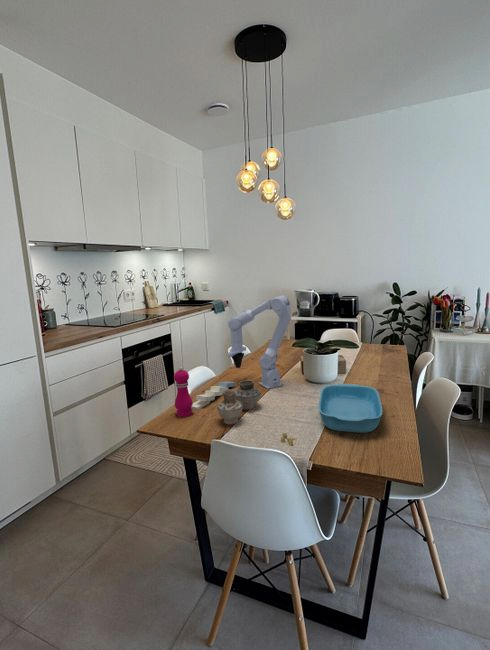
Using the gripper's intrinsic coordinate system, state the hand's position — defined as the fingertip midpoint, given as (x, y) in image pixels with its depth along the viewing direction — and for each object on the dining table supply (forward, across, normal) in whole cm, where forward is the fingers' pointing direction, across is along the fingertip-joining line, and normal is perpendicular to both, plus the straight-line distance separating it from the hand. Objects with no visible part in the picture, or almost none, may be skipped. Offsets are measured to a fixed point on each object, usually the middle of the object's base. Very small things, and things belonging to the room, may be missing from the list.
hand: (238, 367), depth 178 cm
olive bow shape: (+8, +45, +46) cm, 65 cm away
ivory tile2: (+6, +14, 0) cm, 15 cm away
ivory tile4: (+6, +26, +1) cm, 27 cm away
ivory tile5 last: (+7, +28, 0) cm, 29 cm away
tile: (+6, +20, 0) cm, 21 cm away
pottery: (+8, +33, +20) cm, 39 cm away
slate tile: (+6, +7, 0) cm, 9 cm away
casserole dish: (+8, +17, +60) cm, 63 cm away
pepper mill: (+8, +43, 0) cm, 43 cm away
